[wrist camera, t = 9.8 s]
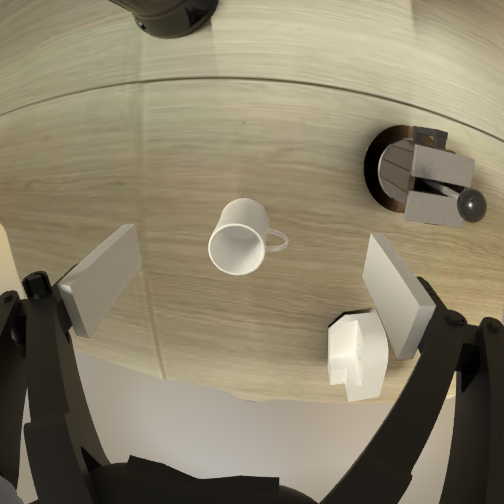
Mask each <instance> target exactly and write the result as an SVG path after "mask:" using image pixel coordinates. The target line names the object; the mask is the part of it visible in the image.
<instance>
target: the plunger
mask: <svg viewBox="0 0 504 504" xmlns="http://www.w3.org/2000/svg"><path fill="white" fill-rule="evenodd" d="M425 184H428V185H430V186H431V187H433V188H435V189H437V190H439V191H440V192H442V193H444V194H446V195H447V196H449V197H451V198H452V199H454V200H456V201H457V210H458V213H459V214H460V216H461V217H462V218H463V219H464V220H465V221H467V222H470V223H475V222H478V221H480V220H481V219H482V218H483V217H484V215H485V213H486V208H487V205H486V200H485V198H484V196H483V195H482V193H481V192H480V191H478V190H476V189H473V188H469V189H465V190H464V191H462V192H461V193H460V194H459V193H457V192H455V191H453V190H451V189H449V188H448V187H446V186H444V185H442V184H440V183H438V182H436V181H434V180H432V179H426V178H421V177H415V182H414V189H413V190H415V191H419V190H421V189H422V188H423V187H424V186H425Z"/></svg>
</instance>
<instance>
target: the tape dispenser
mask: <svg viewBox="0 0 504 504" xmlns="http://www.w3.org/2000/svg"><path fill="white" fill-rule="evenodd" d="M387 364H388V343H387V337H386V333H385V330H384V328H383V325H382V323H381V320H380V318H379V316H378V313H377V311H376V309H375V308H368V309H361V310H354V311H346V312H343V313H342V314H341V315H340V316H338V317H337V318H336V319H335V320H334V321H333V322H332V323H331V324H329V325H328V354H327V365H328V372H329V379H330V385H335V384H342V383H345V386H346V392H347V397H348V402H349V401H356V400H362V399H368V398H374V397H379V394H380V391H381V387H382V384H383V380H384V376H385V372H386V368H387Z"/></svg>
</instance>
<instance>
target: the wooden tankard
mask: <svg viewBox="0 0 504 504" xmlns="http://www.w3.org/2000/svg"><path fill="white" fill-rule="evenodd" d="M413 132H414V133H413V139H410V138H398V139H395V140H393V141H391V142H390V143H388V144H387V145H386V146H385V147H384V148H383V150H382V151H381V153H380V155H379V158H378V161H377V167H376V172H377V179H378V182H379V184H380V186H381V188H382V190H383V191H384V192H385V193H386V194H387V195H388V196H389V197H391V198H392V199H394V200H395V201H398V202H399V203H400V204H402V205H403V206H404V207H405V208H406V209H405V214H404V220H405V221H412V222H421V223H425V224H433V225H445V226H453V227H460V228H462V224H463V220H464V219H463V218H462V217H461V216H460V214H459V213H458V210H457V201H456V200H454V199H452V198H451V197H449V196H447V195H446V194H444V193H442V192H440V191H439V190H437V189H435V188H433V187H431V186H430V185H428V184H425V186H424V187H423V188H422V189H421V190H419V191H415V190H413V189H414V182H415V177H421V178H426V179H432V180H434V181H436V182H438V183H440V184H442V185H444V186H446V187H448V188H449V189H451V190H453V191H455V192H457V193H459V194H460V193H461V192H462V191H464V190H465V189H469V188H470V187H471V181H472V175H473V169H474V162H475V160H474V159H471V158H468V157H464V156H461V155H457V154H456V153H455V152H454V151H450V150H447V149H445V145H446V139H447V136H448V132H444V131H441V130H437V129H431V128H424V127H417V126H413ZM424 135H429V136H434V142H433V146H432V145H429V144H425V143H424Z"/></svg>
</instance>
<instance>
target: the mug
mask: <svg viewBox="0 0 504 504" xmlns="http://www.w3.org/2000/svg"><path fill="white" fill-rule="evenodd" d="M268 226H269V218H268V214H267V212H266V210H265V209H264V207H263V206H262V205H261V204H259V203H258V202H256V201H254V200H252V199H247V198H241V199H236V200H234V201H232V202H230V203H229V204H228V205H227V206H226V207H225V208H224V210H223V212H222V214H221V219H220V221H219V222H218V224H217V226H216V228H215V230H214V232H213V234H212V236H211V238H210V241H209V246H208V249H209V255H210V258H211V260H212V261H213V263H214V264H215V265H216V266H217V267H218V268H219V269H221V270H222V271H224V272H226V273H229V274H233V275H244V274H248V273H250V272H252V271H254V270H256V269H257V268H258V267H259V266H260V265H261V263H262V261H263V259H264V256H265V253H266V252H276V251H280V250H283V249H285V248H286V247H287V246H288V243H289V239H288V237H287V236H286V235H285V234H284V233H282V232H280V231H277V230H275V229H271V228H268ZM267 234H274V235H277V236H279V237H281V238H283V239H284V240H285V243H284V244H282V245H278V246H267V245H266V235H267Z"/></svg>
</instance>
